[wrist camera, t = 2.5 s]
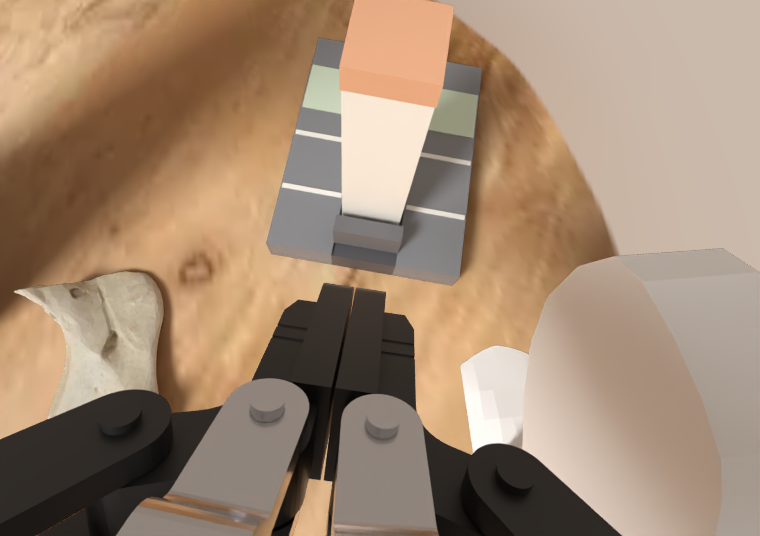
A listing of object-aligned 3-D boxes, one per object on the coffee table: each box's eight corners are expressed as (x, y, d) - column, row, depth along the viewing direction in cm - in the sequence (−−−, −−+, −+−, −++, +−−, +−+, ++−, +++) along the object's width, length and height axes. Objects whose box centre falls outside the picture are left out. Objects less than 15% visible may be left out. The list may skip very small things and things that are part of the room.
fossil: (52, 477, 25) (8, 488, 22) (47, 291, 28) (7, 276, 25) (181, 446, 26) (157, 452, 23) (163, 269, 29) (139, 252, 25)
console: (271, 253, 29) (260, 230, 25) (319, 57, 34) (317, 14, 30) (452, 285, 30) (468, 267, 26) (474, 87, 34) (490, 47, 31)
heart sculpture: (586, 607, 25) (1137, 1058, 8) (498, 621, 24) (875, 1139, 7) (531, 327, 29) (798, 212, 12) (455, 334, 29) (622, 223, 12)
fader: (340, 220, 28) (339, 66, 15) (351, 169, 29) (357, -14, 16) (398, 230, 28) (443, 85, 15) (406, 179, 29) (454, 5, 16)
